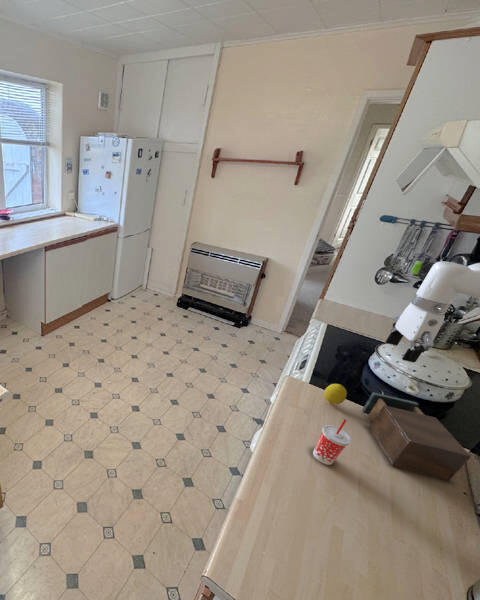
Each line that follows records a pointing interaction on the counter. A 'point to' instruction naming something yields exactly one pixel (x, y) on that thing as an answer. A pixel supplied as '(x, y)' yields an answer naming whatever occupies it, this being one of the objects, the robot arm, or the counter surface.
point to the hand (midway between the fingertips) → (399, 352)
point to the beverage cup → (331, 443)
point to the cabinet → (418, 443)
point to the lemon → (335, 393)
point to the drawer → (379, 400)
